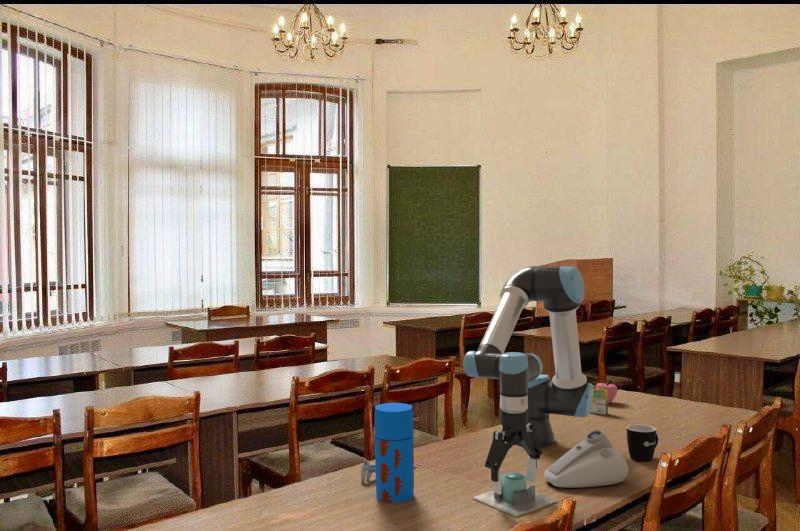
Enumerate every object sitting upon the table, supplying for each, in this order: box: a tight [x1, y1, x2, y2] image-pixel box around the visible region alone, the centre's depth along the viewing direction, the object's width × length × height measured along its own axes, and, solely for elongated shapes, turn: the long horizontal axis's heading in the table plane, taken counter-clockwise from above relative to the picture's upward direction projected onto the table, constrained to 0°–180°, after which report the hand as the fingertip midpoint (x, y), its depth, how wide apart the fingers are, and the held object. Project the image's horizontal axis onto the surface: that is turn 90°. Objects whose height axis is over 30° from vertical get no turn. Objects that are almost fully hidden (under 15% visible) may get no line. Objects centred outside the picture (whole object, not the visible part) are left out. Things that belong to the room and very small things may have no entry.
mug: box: [626, 423, 659, 463], centre depth 220 cm, size 12×9×10 cm
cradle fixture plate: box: [472, 484, 558, 518], centre depth 186 cm, size 16×16×4 cm
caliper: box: [360, 460, 417, 483], centre depth 209 cm, size 20×1×6 cm, turn 128°
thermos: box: [374, 402, 415, 503], centre depth 191 cm, size 11×11×25 cm
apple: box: [595, 380, 618, 405], centre depth 295 cm, size 10×9×10 cm
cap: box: [502, 471, 527, 503], centre depth 186 cm, size 6×6×6 cm
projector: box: [543, 429, 629, 489], centre depth 201 cm, size 22×23×15 cm
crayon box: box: [589, 384, 609, 415], centre depth 279 cm, size 7×3×12 cm, turn 58°
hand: (514, 487), depth 186 cm, fingers open, 13 cm apart
